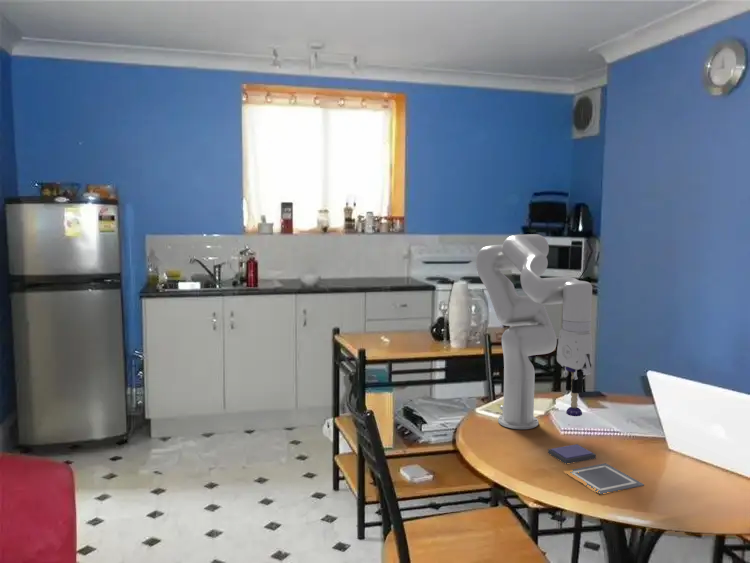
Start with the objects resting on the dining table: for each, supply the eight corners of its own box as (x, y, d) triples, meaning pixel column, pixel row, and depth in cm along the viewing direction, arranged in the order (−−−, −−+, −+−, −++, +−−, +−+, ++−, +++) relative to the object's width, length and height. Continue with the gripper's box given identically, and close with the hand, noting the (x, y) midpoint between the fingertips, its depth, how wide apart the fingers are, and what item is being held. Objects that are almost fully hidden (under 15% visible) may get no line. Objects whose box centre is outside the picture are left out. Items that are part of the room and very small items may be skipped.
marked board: (563, 472, 170) (563, 470, 170) (605, 464, 175) (605, 462, 175) (599, 495, 157) (599, 493, 157) (644, 485, 162) (644, 484, 162)
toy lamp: (579, 418, 176) (581, 358, 174) (562, 415, 179) (564, 356, 176) (583, 413, 180) (585, 354, 178) (567, 410, 183) (568, 352, 180)
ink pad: (548, 453, 183) (548, 448, 183) (576, 448, 186) (577, 443, 186) (565, 464, 175) (566, 458, 175) (595, 458, 179) (595, 453, 179)
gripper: (547, 322, 182) (545, 385, 184) (584, 332, 167) (581, 401, 170) (569, 320, 185) (567, 382, 187) (607, 330, 170) (604, 398, 172)
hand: (574, 390), depth 178 cm, fingers closed on toy lamp
